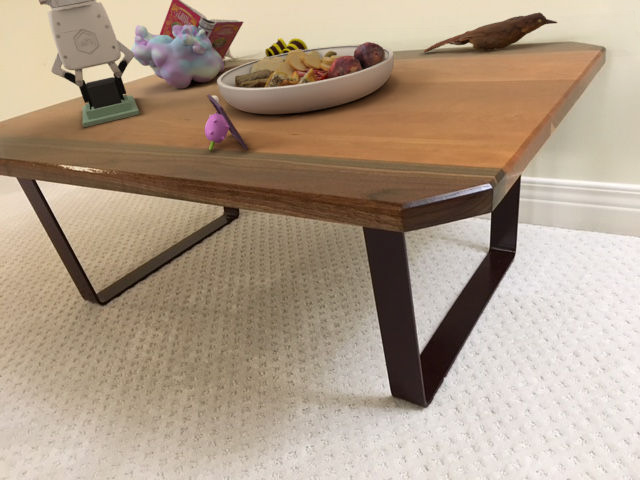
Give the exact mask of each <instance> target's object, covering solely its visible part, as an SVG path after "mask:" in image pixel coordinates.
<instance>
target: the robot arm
mask: <svg viewBox="0 0 640 480" xmlns="http://www.w3.org/2000/svg"><path fill="white" fill-rule="evenodd" d="M38 2H39V5H40V6H43V5H45V6H49V7H50V9H51V10H50V11H47V16H48V17H47V18H48V22H49V26H50V30H51V34H52V37H53V40H54V44H55V47H56V49H57V55H56V56H55V59H54V62H53V65H52V68H51V72H52V74H54V75H55V76H58V77H61V78H63V79H65V80H67V81H69V82H71V83H72V84H74V85H75V86H77V87H78V88H79V91H80V94H81V96H82V100H83V102H84V104H87V103H89V105H90V107H93V104H92V102H91V99H90V96H89V93H88V90H87V82H86V81H85V80H84V75H83V74H84V73H83V70H84V69H89V68H94V67H97V66H103V65H108V66H109V68H110V70H111V71H112V73H113V77H114V78H113V79H114V81H115V84H116V87H117V90H118V93H119V96H120V99H121V100H124V97H123V95H127V91H126V88H125V85H124V80H123V78H122V77H123V74H124V72H125V70H126V69H127V67H128V65H129V64H130V63H131V61H132V60H133V59H134V53H133V52H132V51H131V49H129V47H127V46H126V45H124V44H123V43H122V42H121V41H119V40H118V38H117V36H116V34H115V30H114V28H113V26H112V23H111V20H110V18H109V15H108V13H107V10H106V9H105V6H104V5H103V3H102V2H101V1H99V2H98V1H97V0H38ZM122 54H123V55H124V56H123V57H122ZM121 57H122V58H121ZM120 59H121V60H120ZM119 60H120V61H119ZM117 61H119V63H118V64H117V63H116V62H117ZM62 66H63V68H64V69H63V68H62ZM65 69H66V70H65ZM70 71H74V73H72V72H70Z"/></svg>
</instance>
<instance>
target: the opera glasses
mask: <svg viewBox="0 0 640 480" xmlns="http://www.w3.org/2000/svg"><path fill="white" fill-rule="evenodd" d="M296 49H301V50H307V49H309V48H308V45H307V44H306V43H305V41H304V40H303V39H300V38H296V37H295V38H292V39H290V40H289V41H288V43H286V42H285V41H284V39H283V38H282V37H280V38H277V41H276V42H274V43H272V44H271V45H270V46H269V47H267V48H265V51H264V52H265V57H271V56H275V55H280V54H284V53H288V52H289V51H292V50H296Z"/></svg>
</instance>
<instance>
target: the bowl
mask: <svg viewBox="0 0 640 480" xmlns="http://www.w3.org/2000/svg"><path fill="white" fill-rule="evenodd" d="M394 64H395V57H394V52H393V50H392V49H390V48H388V47H386V46H381V45H380V44H378V43H375V42H371V41H365V42H364V43H361V44H345V45H332V46H322V47H314V48H308V49H307V50H301V49H296V50H292V51H289V52H288V53H284V54H280V55H275V56H271V57H267V56H264V57H262V58H260V59H259V58H258V59H256V60H252V61H249V62H246V63H244V64H241V65H238V66H235V67H233V68H231V69H229V70H226V71H225V72H224V73H222V74H221V75H220V76H219V77H218V78H217V80H216V83H217V84H216V85H217V87H218V91H219V93H220V96H222V98H223V99H224V100H225V102H226V103H227V104H229V105H230V106H231V107H233V108H235V109H237V110H239V111H243V112H246V113H251V114H258V115H291V114H300V113H308V112H314V111H319V110H324V109H330V108H333V107H337V106H341V105H345V104H348V103H350V102H351V103H352V102H354V101H356V100H359V99H362V98H364V97H366V96H368V95H370V94H372V93H374V92H376V91H377V90H378V89H380V88H381V87H382V86H384V84H385V83H386V82H387V81H388V80H389V78H390V77H391V75H392V72H393V70H394Z"/></svg>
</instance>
